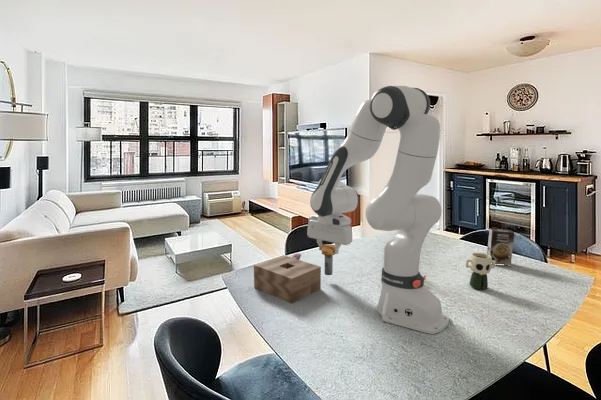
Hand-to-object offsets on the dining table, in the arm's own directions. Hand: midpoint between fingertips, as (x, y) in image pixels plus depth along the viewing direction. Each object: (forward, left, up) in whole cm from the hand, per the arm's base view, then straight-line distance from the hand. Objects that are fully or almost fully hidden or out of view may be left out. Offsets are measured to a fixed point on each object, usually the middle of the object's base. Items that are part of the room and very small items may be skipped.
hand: (328, 251), depth 135 cm
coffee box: (-45, -71, -13) cm, 85 cm away
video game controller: (+22, -3, -13) cm, 26 cm away
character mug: (-46, -35, -13) cm, 60 cm away
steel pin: (0, 0, -9) cm, 9 cm away
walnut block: (+8, +16, -12) cm, 22 cm away
